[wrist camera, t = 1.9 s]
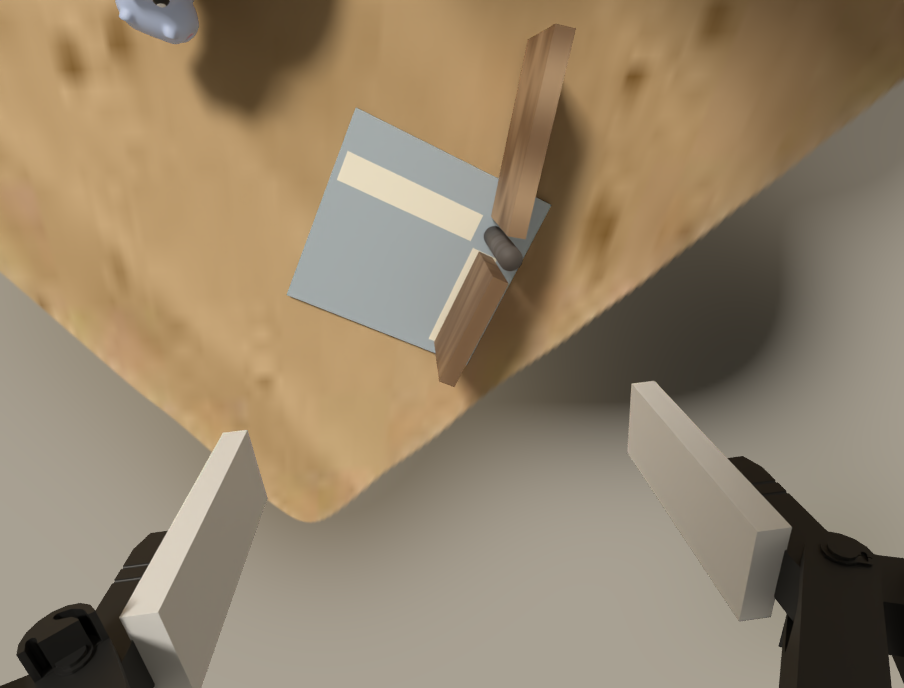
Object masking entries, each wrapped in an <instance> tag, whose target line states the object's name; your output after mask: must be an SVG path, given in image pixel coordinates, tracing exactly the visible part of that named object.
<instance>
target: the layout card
mask: <svg viewBox="0 0 904 688" xmlns="http://www.w3.org/2000/svg"><path fill="white" fill-rule="evenodd" d="M498 180H499V179H498V178H496V177H494V176H492V175H490V174H488V173H486V172H484V171H482V170H480V169H478V168H476V167H474V166H472V165H470V164H468V163H466V162H464V161H462V160H460V159H458V158H456V157H454V156H452V155H450V154H448V153H446V152H444V151H442V150H440V149H438V148H436V147H434V146H432V145H430V144H428V143H426V142H424V141H422V140H420V139H418V138H416V137H414V136H412V135H410V134H408V133H406V132H404V131H402V130H400V129H398V128H396V127H394V126H392V125H390V124H388V123H386V122H384V121H382V120H380V119H378V118H376V117H374V116H372V115H370V114H368V113H366V112H364V111H362V110H360V109H358V108H356V109H355V111H354V114H353V117H352V119H351V122H350V125H349V128H348V130H347V133H346V136H345V138H344V141H343V144H342V146H341V149H340V152H339V155H338V157H337V160H336V163H335V165H334V168H333V171H332V174H331V176H330V179H329V182H328V184H327V187H326V190H325V193H324V195H323V198H322V201H321V203H320V206H319V209H318V211H317V214H316V217H315V220H314V222H313V225H312V228H311V230H310V233H309V236H308V239H307V241H306V244H305V247H304V249H303V252H302V255H301V258H300V260H299V263H298V266H297V268H296V271H295V274H294V276H293V279H292V282H291V285H290V287H289V290H288V293H287V295H288V296H291V297H293V298H296V299H298V300H301V301H304V302H306V303H309V304H311V305H314V306H316V307H319V308H321V309H324V310H326V311H329V312H332V313H334V314H337V315H339V316H342V317H344V318H347V319H349V320H352V321H354V322H357V323H360V324H362V325H365V326H367V327H370V328H372V329H375V330H377V331H380V332H382V333H385V334H388V335H390V336H393V337H395V338H398V339H400V340H403V341H405V342H408V343H411V344H413V345H416V346H418V347H421V348H423V349H426V350H428V351H431V352H433V353H435V346H434V341H435V339H436V337H437V335H438V333H439V331H440V329H441V327H442V325H443V323H444V321H445V319H446V317H447V315H448V313H449V311H450V309H451V307H452V305H453V303H454V301H455V299H456V297H457V295H458V293H459V291H460V289H461V287H462V285H463V283H464V281H465V279H466V277H467V275H468V273H469V270H470V268H471V266H472V264H473V262H474V260H475V258H476V256H477V254H478V252H482V253H484V254H486V255H488V256H490V257H492V258H493V259H494V261H495V262H496V264H497V266H498V267H499V269H500V270H501V272H502V274H503V275H504V277H505V279H506V280H507V282H508V283H509V284H510V283H511V281H512V279H513V277H514V275H515V273H516V271H517V269H516V270H514V271H506V270H504V269H503V268H502V267H501V266H500V265H499V263H498V261H497V260H496V258H495V257H494V255H493V254H492V252H491V250H490V249H489V247H488V246H487V244H486V243H485V241H484V233H485V231H486V230H487V229H488V228H489V227H491V226H497V227H499V226H498V224H497V223H496V222H495V221H494V220H493V218H492V217H491V214H492V209H493V204H494V200H495V195H496V190H497V185H498ZM550 207H551V205H550V204H548V203H546V202H544V201H542V200H540V199H538V198H535V202H534V206H533V210H532V214H531V219H530V223H529V227H528V231H527V235H526V239H520V238H515V237H509V236H508V238H509V239H510V240H511V241H512V242H513V243H514V245H515V246H516V247H517V248H518V249H519V251H520V252H521V253H522V256H523V258H524V256H525V254H526V252H527V250H528V249H529V247H530V245H531V243H532V241H533V239H534V237H535V235H536V233H537V231H538V230H539V228H540V226H541V224H542V222H543V220H544V218H545V216H546V214H547V213H548V211H549V209H550ZM499 228H500V227H499ZM503 232H504V231H503ZM509 284H508V286H509ZM508 286H507V288H508ZM507 288H506V290H507ZM506 290H505V292H506ZM505 292H504V294H505ZM504 294H503V296H504ZM503 296H502V298H503ZM502 298H501V300H502ZM501 300H500V301H501ZM499 303H500V302H499ZM499 303H498V305H499ZM498 305H497V307H498ZM497 307H496V309H497ZM496 309H495V311H496ZM495 311H494V313H495ZM494 313H493V315H494ZM493 315H492V317H493ZM492 317H491V319H492ZM491 319H490V320H491ZM490 320H489V322H490ZM489 322H488V324H489ZM488 324H487V326H488ZM487 326H486V328H487ZM486 328H485V330H486ZM485 330H484V332H485ZM484 332H483V334H484ZM483 334H482V336H483ZM482 336H481V337H482ZM480 339H481V338H480ZM480 339H479V341H480ZM479 341H478V343H479ZM478 343H477V345H478ZM477 345H476V347H477ZM476 347H475V349H476ZM475 349H474V351H475ZM474 351H473V353H474ZM473 353H472V354H473ZM471 356H472V355H471ZM471 356H470V358H471ZM470 358H469V360H470ZM469 360H468V362H469ZM468 362H467V364H468ZM467 364H466V365H467Z"/></svg>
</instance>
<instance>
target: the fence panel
mask: <svg viewBox="0 0 904 688" xmlns="http://www.w3.org/2000/svg"><path fill="white" fill-rule="evenodd" d="M575 30H576V28H572V27H567V26H563V25H559V24H554V25H552V26H551V27H549V28H547V29H546V30H544V31H542V32H540V33H539V34H537V35H535V36H533V37H532V38H530V39H528V42H527V47H526V51H525V56H524V61H523V66H522V70H521V75H520V80H519V85H518V90H517V94H516V99H515V104H514V109H513V113H512V118H511V123H510V128H509V133H508V137H507V142H506V147H505V152H504V157H503V161H502V166H501V171H500V176H499V180H498V185H497V190H496V195H495V200H494V204H493V209H492V214H491V217H492V218H493V220H494V221H495V222H496V223H497V224H498V226H499V227H500V228H501V229H502V230H503V231H504V233H505V234H506V235H507V236H509V237H515V238H520V239H526V235H527V231H528V227H529V223H530V219H531V214H532V210H533V206H534V202H535V198H536V193H537V189H538V185H539V181H540V177H541V172H542V168H543V164H544V160H545V156H546V152H547V147H548V143H549V139H550V135H551V131H552V126H553V122H554V118H555V114H556V110H557V105H558V101H559V97H560V93H561V89H562V85H563V80H564V76H565V72H566V68H567V64H568V59H569V55H570V51H571V47H572V43H573V38H574V34H575Z"/></svg>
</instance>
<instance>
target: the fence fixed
mask: <svg viewBox="0 0 904 688" xmlns="http://www.w3.org/2000/svg"><path fill="white" fill-rule="evenodd" d="M484 241H485V243H486V244H487V246H488V247H489V249H490V250H491V252H492V254H493V255H494V257H495V258H496V260H497V261H498V263H499V265H500V266H501V267H502V268H503V269H504V270H506V271H514V270H516V269H518V268H519V267H520V266H521V264H522V261H523V256H522V253H521V252H520V251H519V249H518V248H517V247H516V246H515V245H514V243H513V242H512V241H511V240H510V239H509V238H508V236H507V235H506V234H505V233H504V232H503V230H502V229H501V228H499V227H497V226H491V227H489V228H488V229H487V230H486V231H485V233H484ZM508 284H509V283H508V282H507V280H506V279H505V277H504V275H503V274H502V272H501V270H500V269H499V267H498V266H497V264H496V262H495V261H494V259H493V258H492V257H490V256H488V255H486V254H484V253H482V252H478V254H477V256H476V258H475V260H474V262H473V264H472V266H471V268H470V270H469V273H468V275H467V277H466V279H465V281H464V283H463V285H462V287H461V289H460V291H459V293H458V295H457V297H456V299H455V301H454V303H453V305H452V307H451V309H450V311H449V313H448V315H447V317H446V319H445V321H444V323H443V325H442V327H441V329H440V331H439V333H438V335H437V337H436V339H435V341H434V346H435V353H436V361H437V368H438V375H439V381H440V382H442V383H445V384H448V385H450V386H453V387H455V385H456V383H457V381H458V379H459V377H460V375H461V374H462V372H463V370H464V368H465V366H466V364H467V362H468V360H469V358H470V356H471V355H472V353H473V351H474V349H475V347H476V345H477V343H478V341H479V339H480V338H481V336H482V334H483V332H484V330H485V328H486V326H487V324H488V322H489V320H490V319H491V317H492V315H493V313H494V311H495V309H496V307H497V305H498V303H499V302H500V300H501V298H502V296H503V294H504V292H505V290H506V288H507V286H508Z"/></svg>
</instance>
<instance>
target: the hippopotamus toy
mask: <svg viewBox="0 0 904 688" xmlns="http://www.w3.org/2000/svg"><path fill="white" fill-rule="evenodd" d="M115 2H116V5H117V8H118V10H119V12H120V14H119V17H120V19H122V20H124V21H126V22H127V23H128V24H129V25H130V26H131V27H133V28H134V29H136V30H138V31H141V32H143V33H145V34H148V35H150V36H153V37H155V38H158V39H160V40H163V41H166V42H169V43H172V44H179V43H185V42H188V41H189V40H191V39H192V38H193V37H194V36H195V35H196V33H197V31H198V28H199V22H198V16H197V13H196V10H195V8H194V6H193V2H194V0H115Z"/></svg>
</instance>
